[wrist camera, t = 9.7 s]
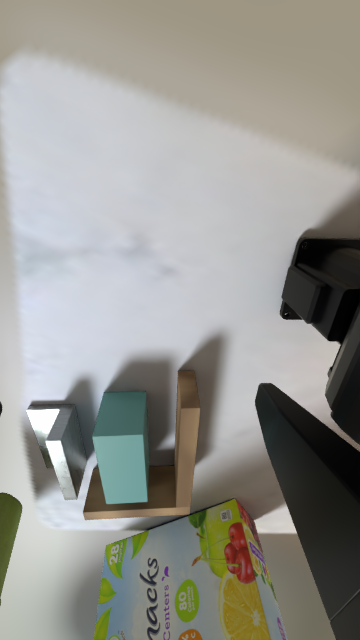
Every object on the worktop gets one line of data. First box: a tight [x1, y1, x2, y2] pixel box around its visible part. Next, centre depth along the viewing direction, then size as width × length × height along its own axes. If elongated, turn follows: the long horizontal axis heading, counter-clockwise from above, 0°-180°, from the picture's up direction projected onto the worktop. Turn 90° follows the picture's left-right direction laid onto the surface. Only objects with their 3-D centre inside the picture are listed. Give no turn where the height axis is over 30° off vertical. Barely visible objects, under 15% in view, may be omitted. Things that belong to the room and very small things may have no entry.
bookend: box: [27, 404, 87, 500], centre depth 25 cm, size 4×9×4 cm, turn 178°
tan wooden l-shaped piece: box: [83, 371, 200, 520], centre depth 25 cm, size 11×16×4 cm
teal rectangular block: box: [92, 391, 149, 504], centre depth 25 cm, size 4×10×5 cm, turn 179°
